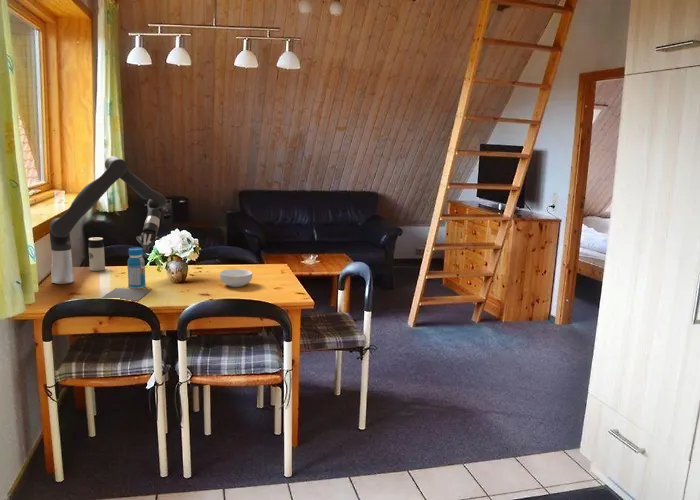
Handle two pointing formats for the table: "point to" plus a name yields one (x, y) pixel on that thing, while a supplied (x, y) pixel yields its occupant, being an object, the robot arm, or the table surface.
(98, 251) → the travel mug
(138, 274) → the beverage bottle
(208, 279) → the table surface
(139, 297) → the mat
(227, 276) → the cereal bowl
